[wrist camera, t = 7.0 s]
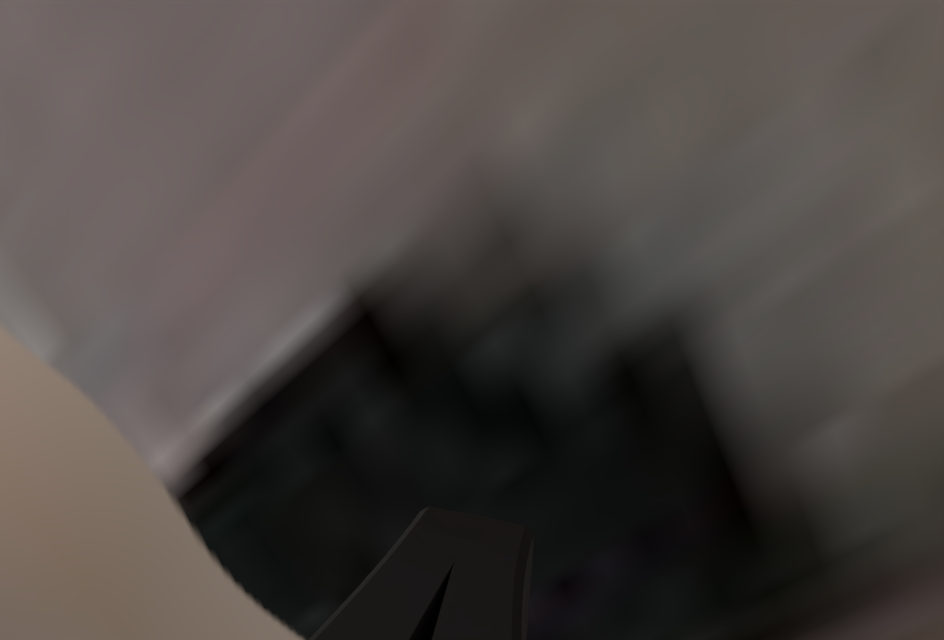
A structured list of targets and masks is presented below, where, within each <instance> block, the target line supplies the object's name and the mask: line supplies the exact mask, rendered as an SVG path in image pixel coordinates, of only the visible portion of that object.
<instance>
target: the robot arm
mask: <svg viewBox="0 0 944 640" xmlns="http://www.w3.org/2000/svg"><path fill="white" fill-rule="evenodd" d="M533 544H534V534H533V533H532V532H531V531H530V530H529V529H528V528H527V526H525V525H520V524H515V523H510V522H505V521H500V520H495V519H490V518H485V517H480V516H475V515H470V514H465V513H460V512H456V511H451V510H446V509H441V508H436V507H431V506H429V507H427V508H425V509H424V510H422V511H420V513H419V514H418V515H417V517H416V518H415V519H414V521H413V522H412V523H411V525H410V526H409V527H408V528H407V530H406V531H405V532H404V533H403V535H402V536H401V537H400V538H399V540H398V541H397V542H396V543H395V545H394V546H393V547H392V548H391V549H390V551H389V552H388V553H387V554H386V555H385V557H384V558H383V559H382V560H381V561H380V563H379V564H378V565H377V566H376V567H375V568H374V569H373V571H372V572H371V573H370V574H369V575H368V576H367V577H366V579H365V580H364V581H363V582H362V583H361V584H360V586H359V587H358V588H357V589H356V590H355V591H354V592H353V593H352V594H351V595H350V596H349V597H348V599H347V600H346V601H345V602H344V603H343V604H342V605H341V606H340V607H339V608H338V609H337V610H336V611H335V612H334V614H333V615H332V616H331V617H330V618H329V619H328V620H327V621H326V622H325V623H324V624H323V625H322V626H321V627H320V629H319V630H318V631H317V632H316V633H315V634H314V635H313V636H312V637H311V638H310V639H309V640H526V634H527V623H528V610H529V597H530V584H531V570H532V557H533Z"/></svg>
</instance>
